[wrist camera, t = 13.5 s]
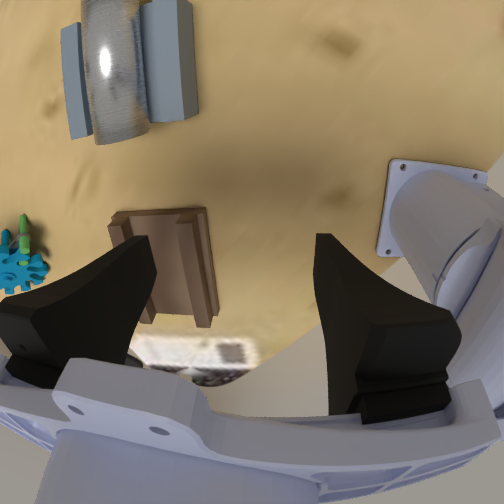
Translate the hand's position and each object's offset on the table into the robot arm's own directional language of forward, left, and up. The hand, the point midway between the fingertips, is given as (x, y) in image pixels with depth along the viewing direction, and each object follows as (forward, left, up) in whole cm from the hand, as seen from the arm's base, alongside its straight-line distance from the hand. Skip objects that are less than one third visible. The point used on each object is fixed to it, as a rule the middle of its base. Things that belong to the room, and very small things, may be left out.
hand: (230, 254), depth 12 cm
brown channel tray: (+7, +7, -9) cm, 14 cm away
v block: (+7, -9, -9) cm, 15 cm away
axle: (+7, -10, -6) cm, 13 cm away
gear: (+25, +6, -10) cm, 27 cm away
